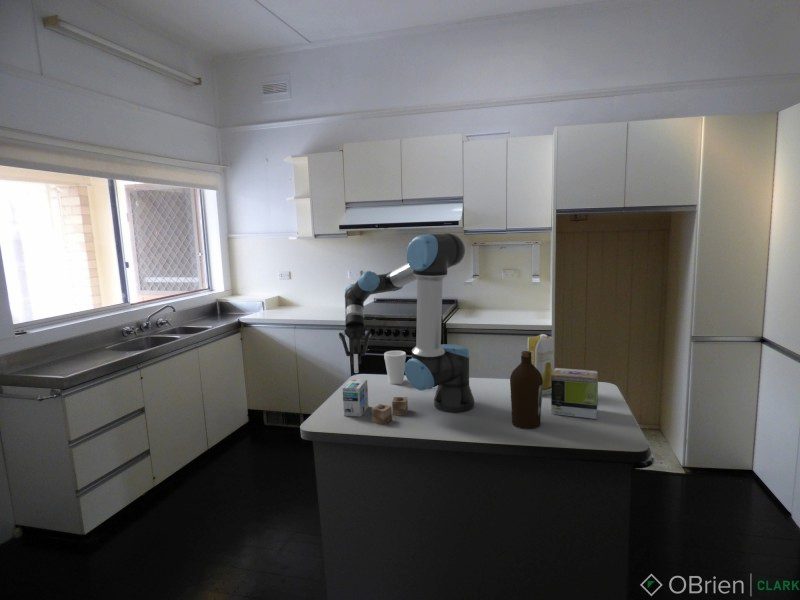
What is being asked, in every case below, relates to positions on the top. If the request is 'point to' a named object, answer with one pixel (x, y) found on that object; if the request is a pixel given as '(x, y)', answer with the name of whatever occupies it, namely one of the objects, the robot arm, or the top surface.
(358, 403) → the light bulb box
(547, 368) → the juice carton
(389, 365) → the foam cup
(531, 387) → the olive oil
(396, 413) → the walnut cube
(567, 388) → the tea box
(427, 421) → the top surface
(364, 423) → the top surface
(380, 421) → the walnut cube
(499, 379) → the top surface
